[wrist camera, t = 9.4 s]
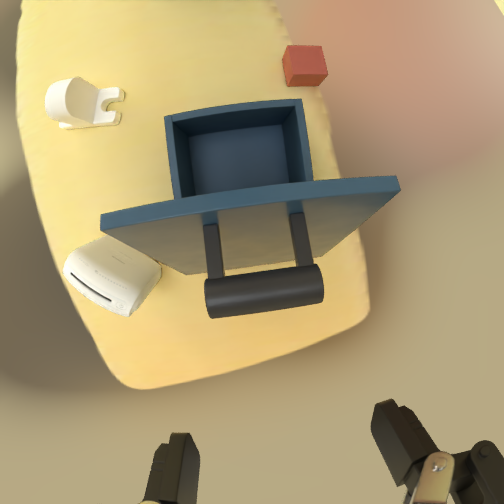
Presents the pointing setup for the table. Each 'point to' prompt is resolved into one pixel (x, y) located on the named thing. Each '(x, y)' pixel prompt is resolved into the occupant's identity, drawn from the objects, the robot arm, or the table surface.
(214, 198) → the freezer lid
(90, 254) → the photo printer
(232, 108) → the box
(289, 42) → the table surface
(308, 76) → the block
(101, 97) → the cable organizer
